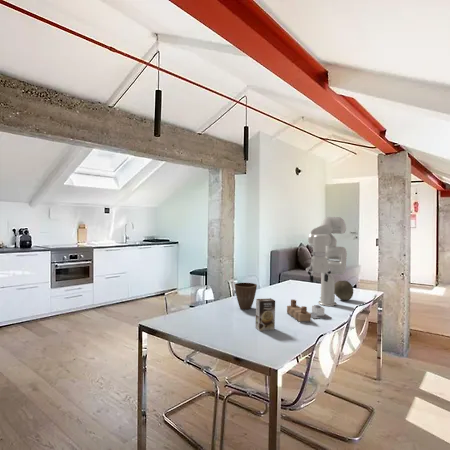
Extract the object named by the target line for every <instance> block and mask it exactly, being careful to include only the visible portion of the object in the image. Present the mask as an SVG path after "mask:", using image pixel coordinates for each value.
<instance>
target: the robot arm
mask: <svg viewBox="0 0 450 450" xmlns="http://www.w3.org/2000/svg"><path fill="white" fill-rule="evenodd" d="M346 225H347V224H346V222H345V220H344V219H343V217H342V216H341V217H340V216H326V217H324V218H323V219H322V221H321V224H320V225H319V226H317V227H314V228H313V229H312V230H310V232H309V234H308V237H307V238H308V239H307V241H308V244H309V245H311V246H312V249H313V250H312V252H311V253H310V254H311V256H312V257H311V260H310V265H309V266H307V267H306V268H305V271H306V273H307V274H308V275H309V281H310V282H311V283H314V274H320V277H321V278H320V297H319V299H320V300H319V301H318V302H317V303H318V305H319V306H324V305H325V306H326V307H335V306H334V305H336V306H337V305H338V303H337V302H335V299H336V298H335V296H336V295H335V283H336V280H335V277H334V276H333V275H345V273H346V270H347V269H346V268H347V255H348V253H347V252H348V251H347V249H346V247H344V246H338V245H337V243H338V241H337V238H336V237H335V236H334V234H337V235H338V234H341V235H342V234H345V233H346V231H347V226H346Z"/></svg>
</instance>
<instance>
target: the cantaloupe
mask: <svg viewBox="0 0 450 450" xmlns="http://www.w3.org/2000/svg"><path fill="white" fill-rule="evenodd" d="M335 296H336V297H337V298H338V299H339V300H342V301H345V300H346V301H348V300H351V299H352V298H353V296H354V288H353V285H352V284H351V282H349V281H347V280H337V281H335Z"/></svg>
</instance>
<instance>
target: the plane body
mask: <svg viewBox="0 0 450 450" xmlns="http://www.w3.org/2000/svg"><path fill="white" fill-rule="evenodd" d="M307 310H308V307H307V306H303V305H302V306H301V307H300V306H299V305H297V300H296V299H290V305H287V306H286V314H287V315H288V316H289V317H291V318H292V317H293V318H292V319H294V320H295V321H296V320H297V321H296V322H298V323H299V322H306V323H311V321H312V318H311V314H310V313H311V312H309V311H307Z"/></svg>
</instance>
